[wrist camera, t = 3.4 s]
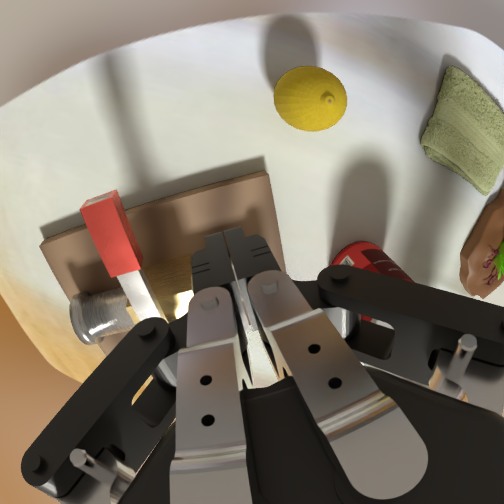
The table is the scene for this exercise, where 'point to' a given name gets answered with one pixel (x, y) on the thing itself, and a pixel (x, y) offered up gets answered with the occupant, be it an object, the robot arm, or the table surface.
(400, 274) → the canned food
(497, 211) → the plant
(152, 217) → the walnut board
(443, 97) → the washcloth
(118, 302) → the valve body
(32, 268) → the table surface
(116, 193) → the valve lever
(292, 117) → the lemon
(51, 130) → the table surface
